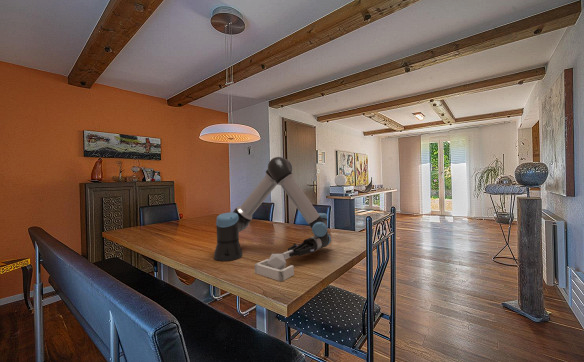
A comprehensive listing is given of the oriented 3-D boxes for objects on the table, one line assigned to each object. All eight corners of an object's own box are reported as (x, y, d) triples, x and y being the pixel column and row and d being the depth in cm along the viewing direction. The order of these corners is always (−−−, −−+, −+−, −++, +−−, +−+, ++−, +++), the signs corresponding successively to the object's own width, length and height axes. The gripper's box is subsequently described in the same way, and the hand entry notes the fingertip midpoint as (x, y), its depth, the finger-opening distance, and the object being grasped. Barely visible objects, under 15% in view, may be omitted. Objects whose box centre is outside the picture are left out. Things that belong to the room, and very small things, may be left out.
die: (278, 278, 106) (289, 258, 108) (261, 267, 108) (273, 248, 110) (280, 277, 114) (291, 259, 116) (265, 267, 116) (275, 249, 118)
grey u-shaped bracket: (254, 272, 111) (254, 264, 111) (267, 267, 118) (267, 258, 118) (281, 281, 101) (281, 272, 101) (294, 274, 108) (293, 265, 108)
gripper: (322, 253, 129) (294, 267, 110) (302, 249, 137) (273, 261, 119) (321, 239, 129) (294, 250, 110) (301, 236, 137) (273, 246, 118)
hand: (283, 256), depth 114 cm, fingers closed
